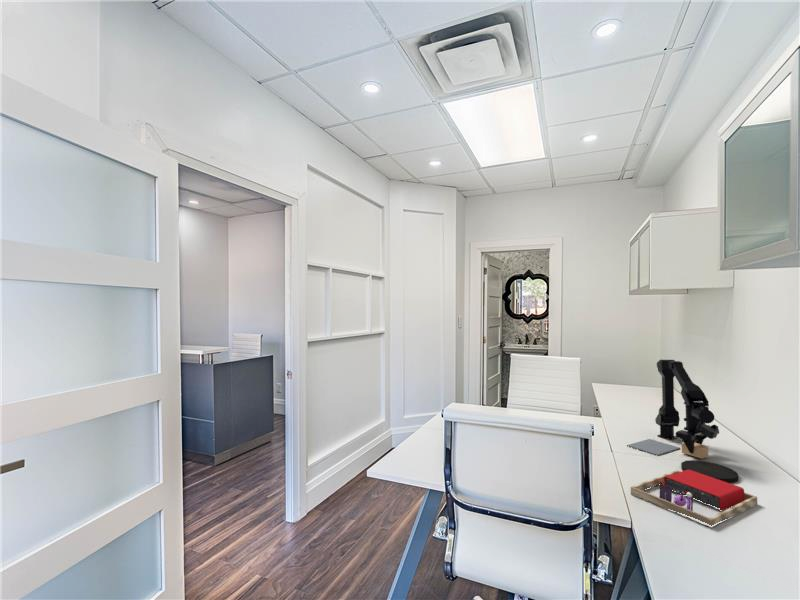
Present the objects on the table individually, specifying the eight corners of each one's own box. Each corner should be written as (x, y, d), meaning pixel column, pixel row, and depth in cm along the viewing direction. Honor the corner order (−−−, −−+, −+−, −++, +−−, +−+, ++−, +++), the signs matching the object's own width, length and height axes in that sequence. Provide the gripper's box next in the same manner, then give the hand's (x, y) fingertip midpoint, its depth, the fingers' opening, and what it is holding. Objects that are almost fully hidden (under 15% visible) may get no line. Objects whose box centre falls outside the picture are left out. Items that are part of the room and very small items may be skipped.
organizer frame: (677, 476, 151) (677, 470, 151) (757, 504, 129) (757, 496, 130) (630, 494, 138) (630, 487, 138) (711, 528, 116) (711, 520, 116)
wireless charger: (742, 474, 153) (742, 469, 153) (734, 488, 141) (733, 483, 141) (687, 461, 167) (687, 457, 167) (676, 473, 155) (675, 468, 155)
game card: (659, 483, 131) (692, 492, 125) (662, 484, 135) (695, 492, 128) (658, 505, 129) (691, 515, 123) (662, 505, 133) (694, 514, 127)
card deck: (688, 450, 176) (687, 440, 176) (708, 456, 169) (708, 446, 169) (681, 452, 174) (681, 442, 174) (702, 458, 167) (701, 448, 167)
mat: (649, 440, 193) (649, 438, 193) (680, 448, 180) (680, 447, 180) (627, 446, 185) (626, 445, 185) (657, 456, 172) (657, 454, 172)
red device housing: (664, 489, 141) (663, 476, 142) (687, 482, 147) (686, 468, 148) (721, 512, 125) (720, 497, 125) (744, 503, 131) (744, 488, 131)
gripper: (703, 424, 160) (704, 462, 160) (726, 418, 169) (727, 454, 169) (674, 418, 170) (675, 453, 170) (697, 412, 179) (698, 446, 179)
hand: (694, 452), depth 172 cm, fingers closed on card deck, 5 cm apart
